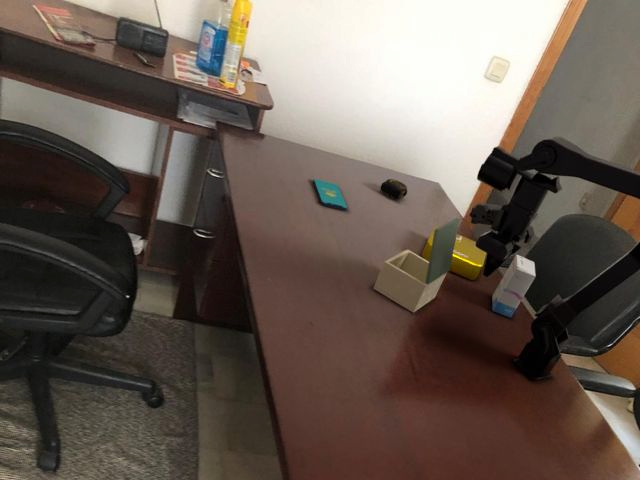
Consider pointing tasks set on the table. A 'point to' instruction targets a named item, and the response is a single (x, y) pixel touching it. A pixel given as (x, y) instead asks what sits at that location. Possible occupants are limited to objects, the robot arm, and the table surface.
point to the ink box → (513, 286)
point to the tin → (407, 281)
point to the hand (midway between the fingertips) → (486, 274)
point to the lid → (442, 250)
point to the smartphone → (329, 194)
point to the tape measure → (394, 188)
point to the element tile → (461, 256)
